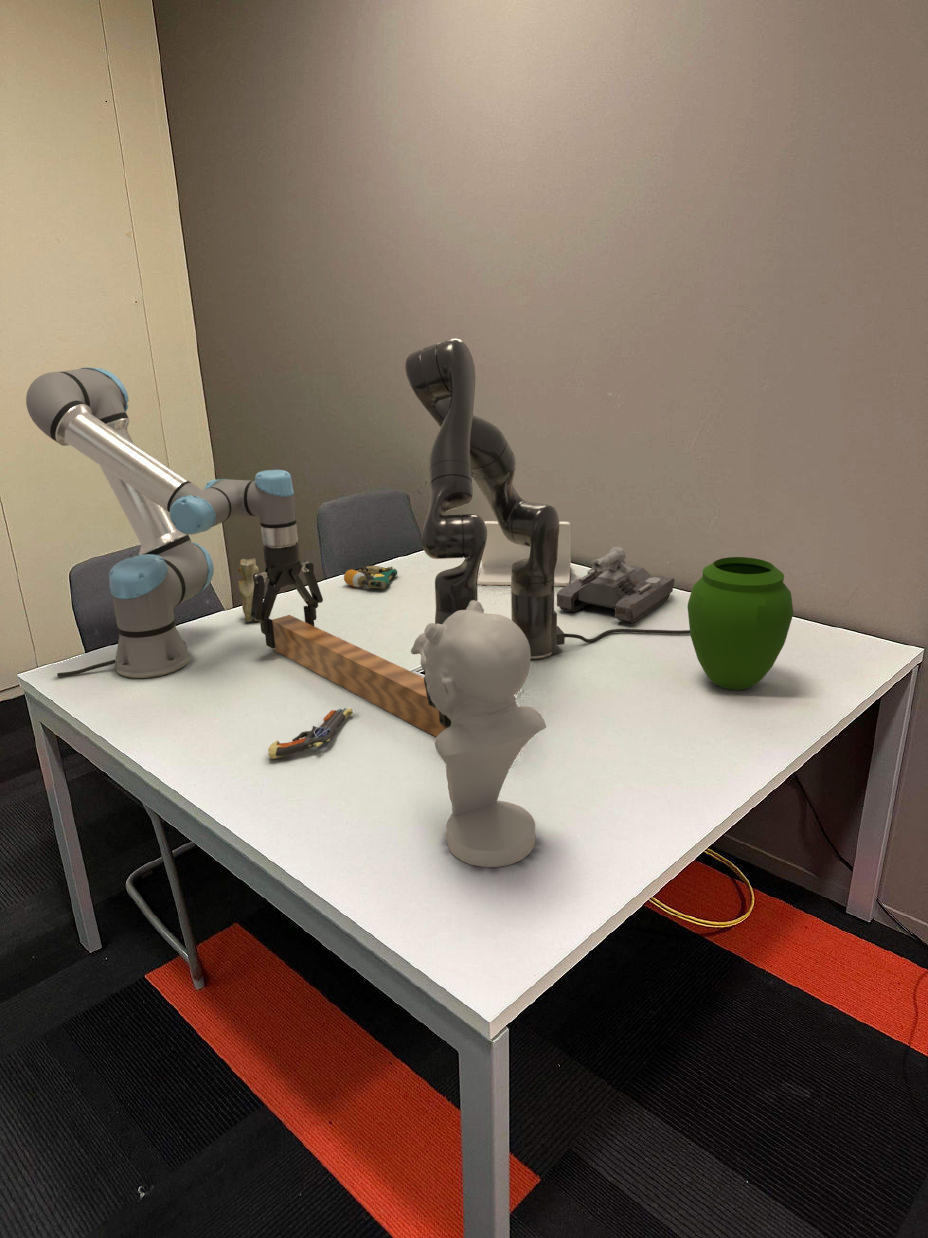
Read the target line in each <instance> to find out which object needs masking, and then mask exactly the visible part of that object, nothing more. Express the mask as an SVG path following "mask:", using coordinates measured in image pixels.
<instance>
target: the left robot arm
mask: <svg viewBox="0 0 928 1238" xmlns="http://www.w3.org/2000/svg"><path fill="white" fill-rule="evenodd" d="M129 401H130V399H129V394H128V390H127V389H126V386H125V384H124V383H123V382H122V380H120V378H119V377H118V376H117V375H115V374H114V373H113V372H111V371H109V370H107V369H104V368H101V367H88V366H87V367H80V368H76V369H70V370H61V371H51V372H46V373H43V374H41V375H39V376H37V377H36V378H35V379H33V381H32V382H31V383H30V384H29V387H28V389H27V392H26V396H25V404H26V409H27V413H28V415H29V417H30V419H31V421H32V422H33V423H34V424H35V426H36V427H37V428H38V429H39V430H40V431H41V432H42V433H44V434H45V435H46V436H47V437H49V438H50V439H51V440H53V441H54V442H56V443H57V444H59V445H61V446H62V447H67V446H71V447H72V448H73V449H75V450H76V451H78V452H79V453H81V454H82V455H84V456H85V457H87V458H89V459H90V460H92V462H94V463H96V464H97V465H98V466H99V467H100V469H101V471H102V473H103V475H104V477H105V479H106V480H107V482H108V484H109V486H110V488H111V490H112V491H113V494H114V495H115V497H116V499H117V502H118V503H119V506H120V507H121V509H122V511H123V513H124V515H125V516H126V518H127V520H128V522H129V524H130V526H131V528H132V530H133V532H134V533H135V535H136V537H137V539H138V541H139V543H140V549H139V552H138V554H137V555H135V556H133V557H127V558H124V559H122V560H120V561H118V562H117V563H116V564H114V565H113V566H112V567H111V569H110V570H109V573H108V578H109V586H108V587H109V592H110V595H111V600H112V604H113V610H114V616H115V619H116V620H115V621H116V625H117V631H118V643H117V648H116V653H115V659H112V660H108V661H107V660H106V661H104V662H101V663H97V664H93V665H90V666H86V667H84V668H81V669H76V670H70V671H62V672H57V673H56V676H57V678H62V677H69V676H74V675H75V676H76V675H81V674H84V673H87V672H90V671H93V670H96V669H100V668H104V667H107V666H108V667H109V666H111V665H114V666H115V670H116V673H117V674H118V675H120V676H122V677H125V678H129V679H149V678H157V677H161V676H165V675H169V674H172V673H175V672H177V671H179V670H181V669H182V668H184V667H185V666H187V665H188V664H189V662H190V653H189V649H188V646H187V643H186V642H185V641H184V640H183V638H182V636H181V634H180V632H179V630H178V629H177V625H176V620H175V619H176V618H175V613H174V608H175V607H178V606H179V605H181V604H182V603H184V602H186V601H187V600H189V599H191V598H193V597H196V596H199V595H200V594H201V593H202V592H203V591H204V590H206V589H207V588H208V586H209V585H210V584H211V582H212V580H213V578H214V568H215V567H214V562H213V558H212V556H211V554H210V553H209V552H208V550H207V549H206V548H205V547H204V546H203V545H200V544H199V543H197V542H194V541H192V539H191V537H190V536H189V535H196V534H199V533H204V532H207V531H209V530H211V529H212V528H213V527H216V526H218V525H220V524H223V523H224V522H227V521H229V520H232V519H233V518H235V517H239V516H241V517H243V516H244V517H246V516H247V517H259V523H260V532H261V540H262V541H261V542H262V544H263V547H262V549H263V558H264V563H265V569H264V571H263V572H260V573H258V574H257V573H254V574H253V580H254V590H253V599H252V607H251V617H252V619H253V618H254V619H256V620H259V625H260V632H261V633H262V634H263V635H264V637H265V646H267V647H268V648H270V649H272V650H274V648H275V639H274V630H273V622H272V620H273V619H271V618H270V616H271V614H272V610H273V608H274V605H275V602H276V599H277V596H278V593H279V592H280V591H281V588H284V587H286V586H292V585H293V587H294V588H295V589H296V591H297V593H298V594H299V595H300V597H301V598H302V600H303V601H304V603H305V604H306V605H303V615H304V622H306V623H308V624H310V625H312V626H314V627H315V621H316V620H317V618H318V617H317V608H318V607H319V604H321V603H323V601H324V598H323V595H322V592H321V589H320V587H319V584H318V580H317V578H316V575H315V572H314V571H315V570H314V568H315V567H314V563H313V562H311V561H307V560H304V561H303V562H301V560H300V559H301V554H300V544H299V543H298V541H299V533H298V525H297V519H296V518H297V517H296V507H295V506H296V505H295V491H294V486H293V485H294V484H293V480H292V479H293V478H292V475H291V473H290V472H288V471H287V470H284V469H267V470H261V471H258V472H257V473H256V474H255V476H254V480H245V479H229V478H221V479H211V480H209V481H207V482H206V485H205V486H204V487H203V489H202V488H200V487H199V486H197V485H196V484H195V483H193V482H192V481H190V480H189V479H187V478H186V477H184V476H182V475H181V474H180V473H178V472H177V471H175V470H173V468H171V467H169V466H168V465H167V464H166V463H164V462H162V461H161V460H159V459H158V458H157V457H155V456H153V455H152V454H150V453H149V452H147V451H146V450H144V449H143V448H142V447H140V446H138V445H137V444H136V443H134V441H133V439H132V437H131V435H130V432H129V431H128V427H129V424H130V421H131V420H130V418H129V415H128V413H127V411H128V408H129V404H128V403H129ZM301 572H303V575H304V578H305V581H306V584H307V586H308V588H307V587H306V586H305V584H304V582H303V580H302V578H300V576H299V575H300V573H301ZM267 579H268V582H267ZM265 583H267V586H266V584H265ZM265 587H267V589H266V588H265ZM265 589H266V592H265ZM308 589H309V591H308ZM264 595H265V596H264ZM254 619H253V620H254Z"/></svg>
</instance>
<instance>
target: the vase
mask: <svg viewBox="0 0 928 1238" xmlns="http://www.w3.org/2000/svg"><path fill="white" fill-rule="evenodd" d="M784 580H785V574H784V573H783V572H782V571H781V570H780V569H779V568H777V567H776V566H775V565H774V564H773V563H771V562H770V561H767V560H764V559H761V558H754V557H746V556H730V557H723V558H722V557H721V558H718V559H716V560H715V561H713V562H712V563H710V564H708V565H706V566H705V567H704V568H703V569H702V576H701V577H700V578H699V579H698V580H697V581H696V582H695V583H694V584H693V585H692V588H691V591H690V595H689V598H688V601H687V613H688V614H687V615H688V625H689V630H690V634H689V635H690V636H689V637H690V640H691V642H692V645H693V648H694V651H695V656H696V659H697V661H698V663H699V665H700V666H701V668H702V670H703V672H704V674H705V675H706V676H707V677H708V678H709V680H710V681H711V682H712V683H713V684H714V685H716V686H718V687H720V688H723V689H726V690H731V691H740V690H747V689H750V688H752V687H754V686H755V685H757V684H758V683H759V682H760V681H761V680H763V679H764V677H765V676H766V675H767V674H768V673H769V672H770V670H771V669H772V668H773V666H774V665H775V663H776V661H777V659H778V657H779V655H780V653H781V651H782V650H783V648H784V646H785V643H786V640H787V637H788V634H789V631H790V630H789V629H790V627H791V623H792V620H793V617H794V607H793V606H794V605H793V599H792V592H791V590H790V589H789V588H788V586H787V585H786V584H785V583H784Z"/></svg>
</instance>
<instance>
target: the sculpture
mask: <svg viewBox="0 0 928 1238" xmlns="http://www.w3.org/2000/svg"><path fill="white" fill-rule="evenodd" d="M239 565H240V566H239V567H238V568H237V572H238V574H240V575H241V576H242V579H240V580H238V582H237V585H238V591H239V596H241V597H242V603H241V608H242V612H243V614H244V619H245V622H246V623H247V622H252V621H253V620H254V622H258V621H259V622H260V620H256V619H254V618H252V617H251V607H252V599H253V590H254V580H253V574H254V573H257V574H260V573H259V572H260V568H259V566H257V563H256V558H250V559H245V558H241V559H240V561H239Z"/></svg>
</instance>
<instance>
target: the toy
mask: <svg viewBox="0 0 928 1238" xmlns="http://www.w3.org/2000/svg"><path fill="white" fill-rule="evenodd" d="M626 557H627V556H626V551H625V549H624V548H622V547H621V546H614V547H612V548H611V549H610V550H609V552H608V553H607V554H605V555H604V556H601V557H599V558H598V559H597V557H596V558H594V559H593V560H592V561H590V562H589V563H590V564H591V565H592V567H591V568H590V569H589V570H587V573H586V575H584V576H582V577H580V578H578V579H577V580H575V581H573V582H570V583H569V585H567V586H563V587H562V588H560V589H559V590H558V591H557V592H556V607H558V608H559V609H560V610H562V611H566V612H572V613H575V612H577V611H579V610H581V609H582V608H585V607H586V606H588V605H592V606H598V607H602V608H603V607H604V608H609V609H613V610H614V618H615V619H617V620H618V621H621V622H626V623H631V624H634V623H635V622H637V621H638V620H640V619H641V618H642V617H644V616H645V615H647V614H648V613H650V612H651V611H652V610H654V609H655V608H657V607H659V606H660V605H661V604H663V603H664V602H666V601H667V600H669V598H670V596H671V594H672V593H673V591H674V585H675V580H676V579H675V578H673V577H668V576H663V575H656V576H655V577H654V576H651V574H650V573H649V572H648V571H647V570H646V568H644V567H641V566H635V565H629V564H628V563H627V562H626V561H625V559H626Z"/></svg>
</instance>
